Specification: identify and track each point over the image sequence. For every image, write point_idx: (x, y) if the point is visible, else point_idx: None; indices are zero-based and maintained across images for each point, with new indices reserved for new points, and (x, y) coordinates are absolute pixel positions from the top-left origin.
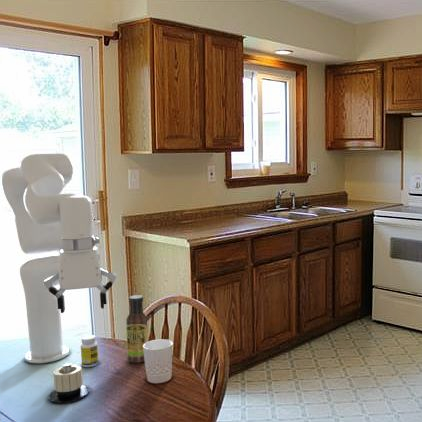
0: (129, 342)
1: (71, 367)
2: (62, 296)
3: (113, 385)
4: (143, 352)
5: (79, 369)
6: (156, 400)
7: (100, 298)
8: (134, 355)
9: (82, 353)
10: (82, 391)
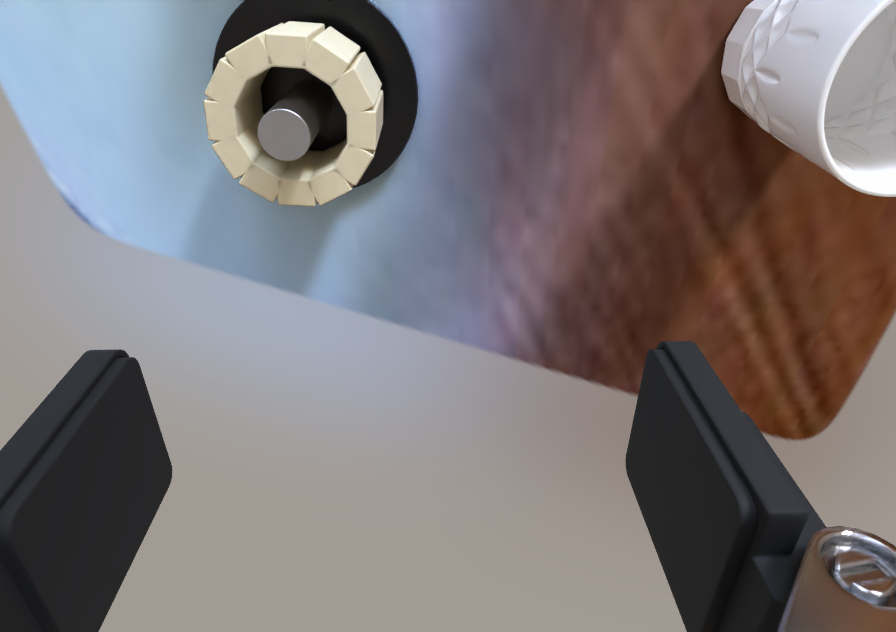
0: None
1: (306, 68)
2: (27, 613)
3: (541, 50)
4: None
5: (367, 147)
6: (697, 286)
7: (673, 587)
8: None
9: None
10: (383, 104)
